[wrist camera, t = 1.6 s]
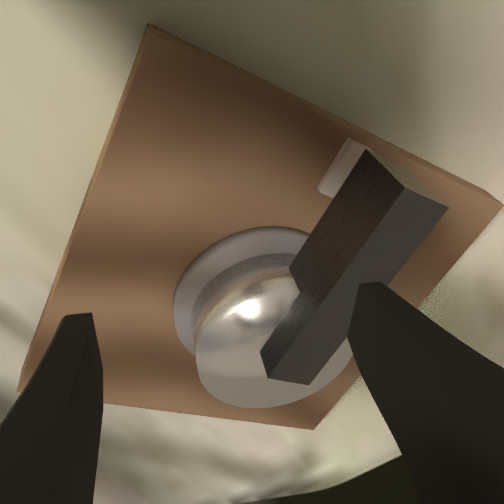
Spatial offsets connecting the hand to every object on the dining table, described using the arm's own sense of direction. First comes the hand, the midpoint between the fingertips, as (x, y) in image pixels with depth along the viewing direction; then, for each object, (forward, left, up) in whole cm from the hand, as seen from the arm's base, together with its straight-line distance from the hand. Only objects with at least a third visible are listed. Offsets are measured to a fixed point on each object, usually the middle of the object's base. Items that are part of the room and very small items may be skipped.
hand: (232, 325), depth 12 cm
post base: (-5, -5, -9) cm, 12 cm away
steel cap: (-2, -5, -7) cm, 9 cm away
